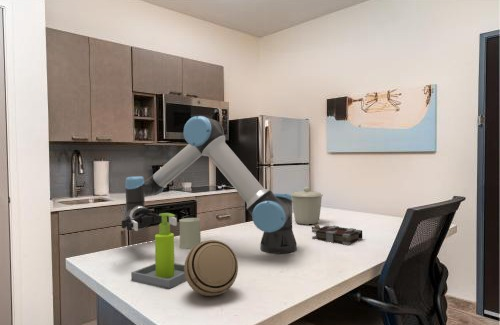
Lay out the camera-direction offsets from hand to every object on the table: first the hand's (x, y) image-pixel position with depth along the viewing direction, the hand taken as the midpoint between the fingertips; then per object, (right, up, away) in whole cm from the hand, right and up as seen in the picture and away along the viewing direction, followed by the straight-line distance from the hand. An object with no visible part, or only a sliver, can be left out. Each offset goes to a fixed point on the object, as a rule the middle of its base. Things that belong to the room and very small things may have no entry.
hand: (156, 224), depth 120 cm
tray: (+5, -15, -9) cm, 19 cm away
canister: (+65, -14, +78) cm, 102 cm away
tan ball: (+22, -16, -23) cm, 35 cm away
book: (+70, -14, +41) cm, 83 cm away
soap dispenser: (+5, -15, -9) cm, 18 cm away
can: (+6, -15, +30) cm, 34 cm away
